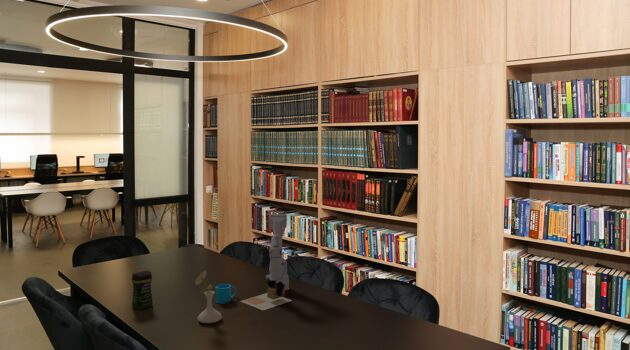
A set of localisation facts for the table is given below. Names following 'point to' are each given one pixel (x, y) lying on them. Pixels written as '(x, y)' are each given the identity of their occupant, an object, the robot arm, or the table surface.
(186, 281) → the table surface
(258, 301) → the card mat
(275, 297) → the box
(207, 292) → the flower in vase
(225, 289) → the mug
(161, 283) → the table surface
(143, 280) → the coffee jar
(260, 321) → the table surface
